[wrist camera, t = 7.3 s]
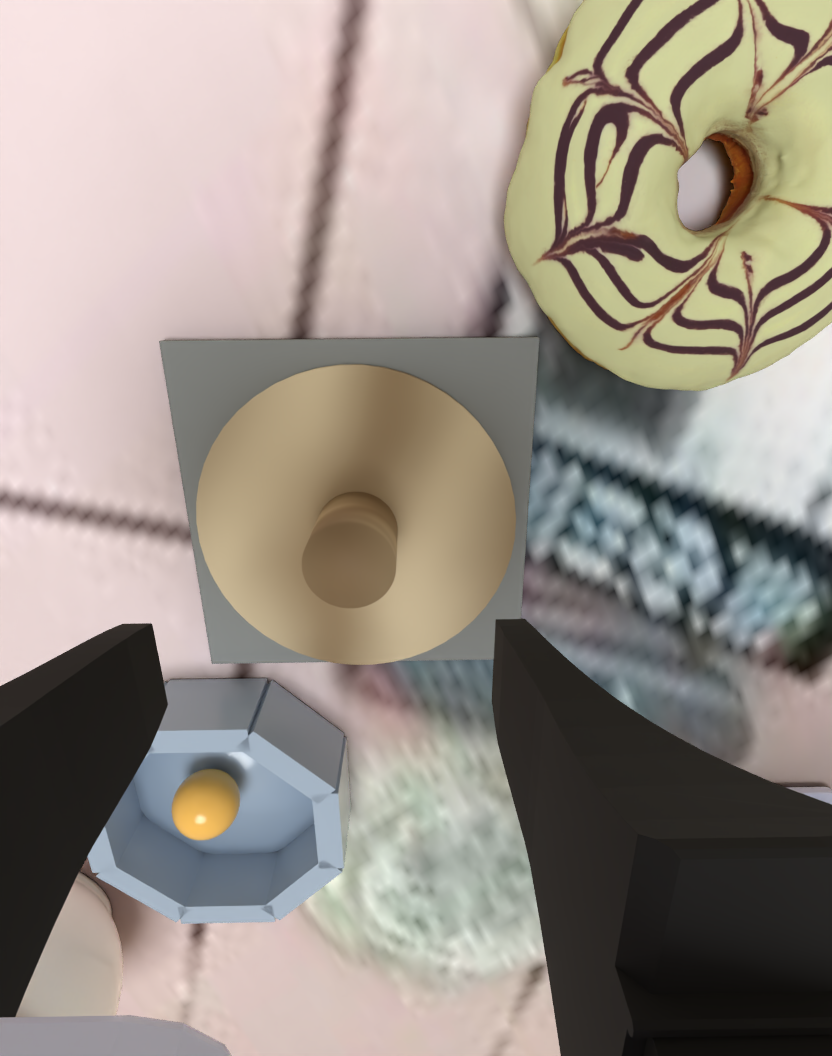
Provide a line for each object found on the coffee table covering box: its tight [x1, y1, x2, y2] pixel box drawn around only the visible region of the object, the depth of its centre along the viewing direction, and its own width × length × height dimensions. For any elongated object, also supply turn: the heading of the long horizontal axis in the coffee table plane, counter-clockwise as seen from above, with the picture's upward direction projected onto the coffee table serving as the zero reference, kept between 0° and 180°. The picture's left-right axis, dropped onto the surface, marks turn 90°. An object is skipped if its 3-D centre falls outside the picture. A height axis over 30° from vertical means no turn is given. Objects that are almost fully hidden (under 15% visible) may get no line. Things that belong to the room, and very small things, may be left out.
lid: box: [196, 364, 516, 665], centre depth 18 cm, size 11×11×4 cm
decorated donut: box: [504, 0, 832, 391], centre depth 15 cm, size 10×11×4 cm
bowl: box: [88, 678, 351, 924], centre depth 23 cm, size 10×10×3 cm
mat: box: [159, 337, 539, 664], centre depth 20 cm, size 12×12×1 cm
